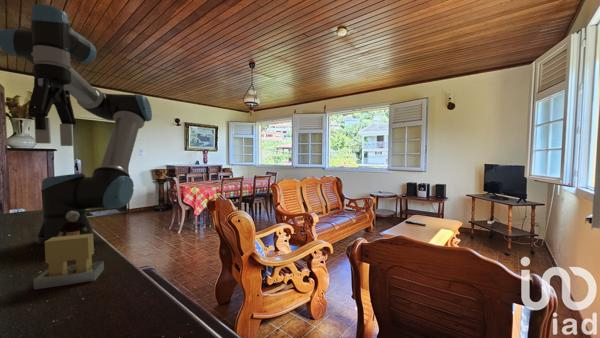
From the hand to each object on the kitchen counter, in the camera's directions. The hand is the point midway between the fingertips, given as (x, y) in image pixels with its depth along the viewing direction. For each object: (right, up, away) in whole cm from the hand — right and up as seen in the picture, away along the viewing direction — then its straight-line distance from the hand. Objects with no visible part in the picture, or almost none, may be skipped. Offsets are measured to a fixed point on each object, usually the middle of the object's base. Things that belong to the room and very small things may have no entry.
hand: (56, 144), depth 73 cm
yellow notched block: (+13, -33, -10) cm, 37 cm away
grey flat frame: (+13, -33, -10) cm, 37 cm away
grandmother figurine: (-3, -33, +10) cm, 34 cm away
